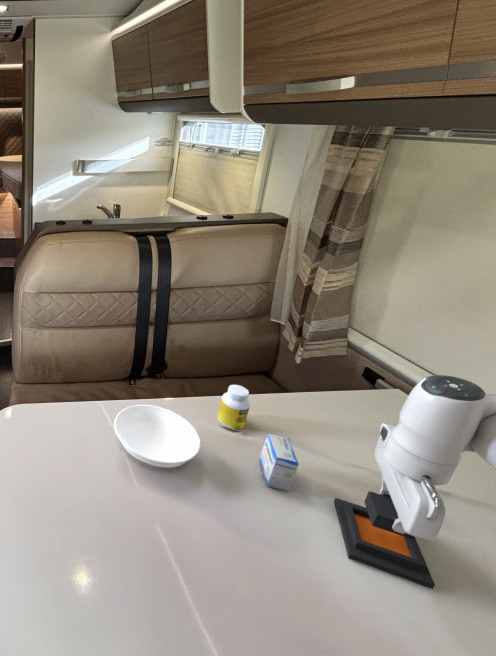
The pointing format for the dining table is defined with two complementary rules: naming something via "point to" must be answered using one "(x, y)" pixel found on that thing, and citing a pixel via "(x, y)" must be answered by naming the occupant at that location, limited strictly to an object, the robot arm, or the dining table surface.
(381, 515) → the black block
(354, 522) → the picture frame
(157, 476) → the dining table surface
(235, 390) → the pill bottle
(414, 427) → the robot arm
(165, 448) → the bowl
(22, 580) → the dining table surface
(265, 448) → the medicine box
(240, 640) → the dining table surface
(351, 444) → the dining table surface
